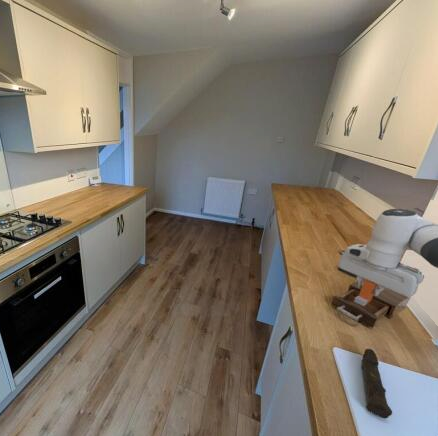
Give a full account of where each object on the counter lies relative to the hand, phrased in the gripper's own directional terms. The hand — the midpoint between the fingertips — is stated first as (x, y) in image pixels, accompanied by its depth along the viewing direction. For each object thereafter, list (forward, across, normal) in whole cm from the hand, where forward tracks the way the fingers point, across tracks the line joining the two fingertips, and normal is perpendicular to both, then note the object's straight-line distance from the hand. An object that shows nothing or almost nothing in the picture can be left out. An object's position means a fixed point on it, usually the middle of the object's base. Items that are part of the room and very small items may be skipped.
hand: (367, 291), depth 83 cm
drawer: (+8, 0, +2) cm, 9 cm away
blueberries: (+10, +24, -47) cm, 54 cm away
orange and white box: (+4, 0, 0) cm, 4 cm away
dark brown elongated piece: (+10, -14, +29) cm, 34 cm away
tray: (+10, +11, -31) cm, 34 cm away
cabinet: (+10, 0, -13) cm, 16 cm away
